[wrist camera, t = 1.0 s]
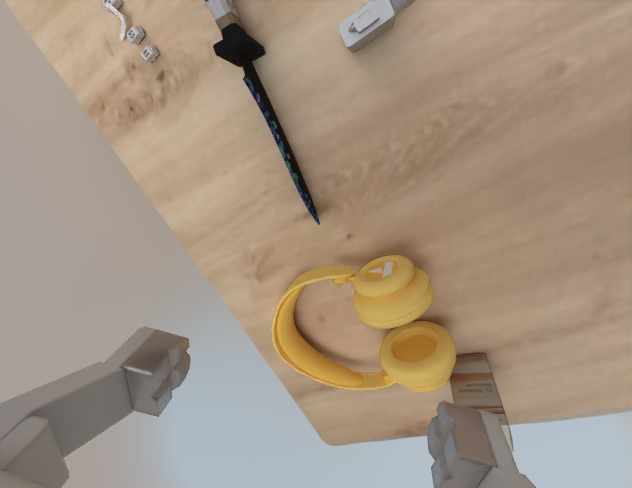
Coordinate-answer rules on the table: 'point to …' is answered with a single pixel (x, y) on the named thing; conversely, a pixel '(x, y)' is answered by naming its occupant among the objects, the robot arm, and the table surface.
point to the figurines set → (131, 30)
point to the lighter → (370, 22)
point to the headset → (379, 312)
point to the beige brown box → (478, 388)
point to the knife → (254, 82)
